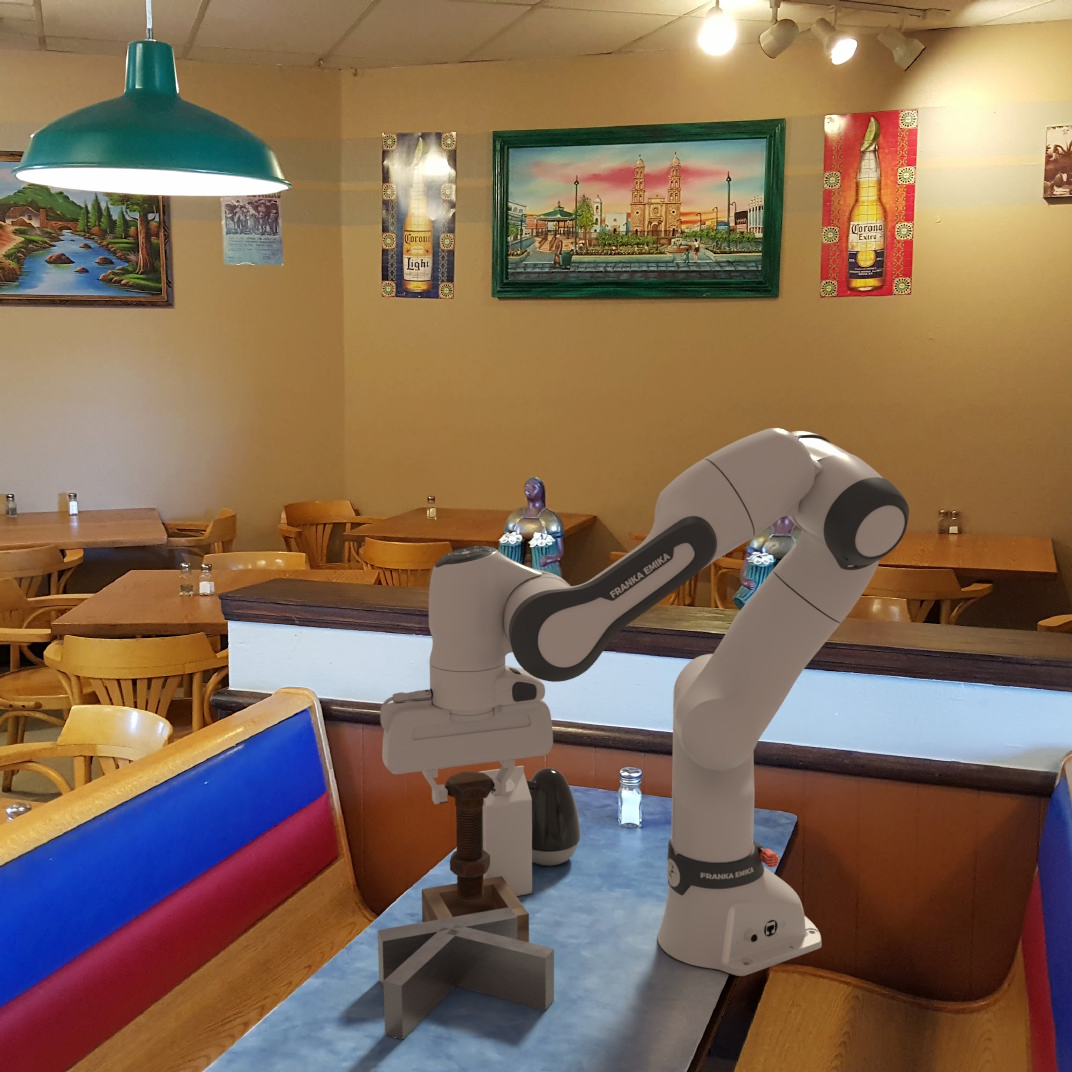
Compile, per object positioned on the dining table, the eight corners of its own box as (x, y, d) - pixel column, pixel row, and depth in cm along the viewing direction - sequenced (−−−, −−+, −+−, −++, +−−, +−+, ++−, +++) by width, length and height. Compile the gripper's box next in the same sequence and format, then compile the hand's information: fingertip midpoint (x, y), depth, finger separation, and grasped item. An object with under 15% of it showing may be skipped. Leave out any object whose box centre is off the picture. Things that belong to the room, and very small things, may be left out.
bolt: (484, 910, 133) (483, 790, 130) (443, 906, 134) (441, 786, 131) (496, 888, 139) (495, 771, 136) (456, 884, 140) (455, 768, 137)
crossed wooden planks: (522, 953, 153) (522, 904, 152) (558, 1007, 140) (559, 955, 139) (365, 982, 146) (363, 932, 145) (388, 1043, 133) (386, 988, 132)
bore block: (502, 907, 166) (501, 875, 165) (528, 947, 155) (528, 913, 154) (422, 921, 162) (421, 889, 161) (444, 963, 151) (443, 928, 150)
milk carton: (473, 881, 174) (471, 764, 171) (516, 874, 177) (515, 758, 174) (487, 902, 168) (486, 780, 164) (532, 894, 170) (532, 774, 167)
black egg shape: (503, 855, 183) (503, 765, 181) (556, 840, 189) (556, 753, 186) (538, 879, 175) (538, 785, 172) (592, 862, 180) (593, 772, 178)
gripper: (385, 702, 125) (388, 820, 128) (557, 684, 132) (557, 796, 135) (374, 687, 131) (377, 799, 134) (539, 670, 138) (539, 777, 140)
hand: (469, 798), depth 134 cm, fingers closed on bolt, 6 cm apart
